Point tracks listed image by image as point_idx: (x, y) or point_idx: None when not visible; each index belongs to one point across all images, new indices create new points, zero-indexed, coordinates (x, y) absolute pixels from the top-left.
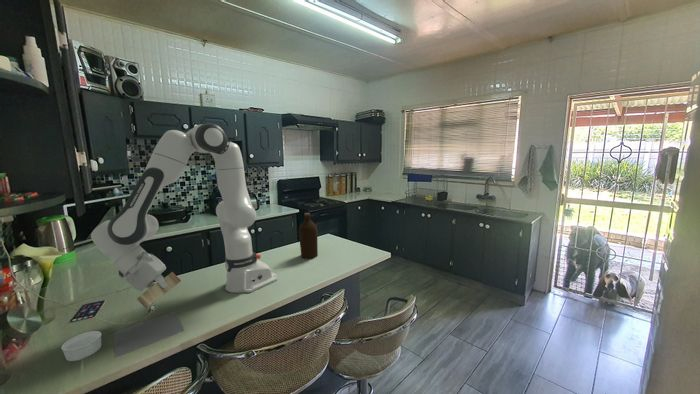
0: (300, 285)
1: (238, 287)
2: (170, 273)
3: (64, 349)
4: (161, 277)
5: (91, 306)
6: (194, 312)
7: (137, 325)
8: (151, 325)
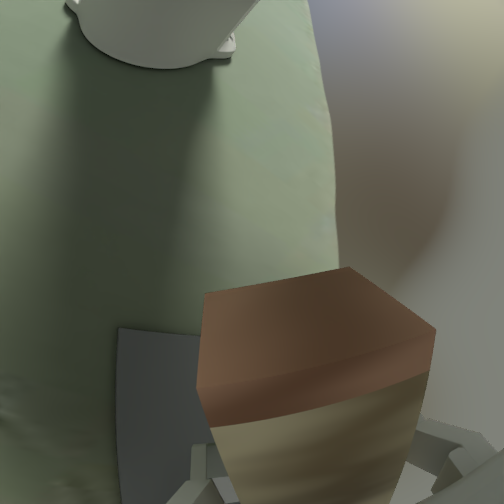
0: (294, 17)
1: (205, 46)
2: (429, 362)
3: None
4: (475, 444)
5: None
6: (199, 257)
7: (132, 491)
8: (181, 445)
